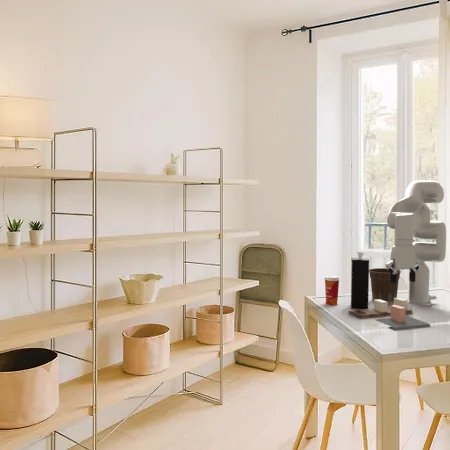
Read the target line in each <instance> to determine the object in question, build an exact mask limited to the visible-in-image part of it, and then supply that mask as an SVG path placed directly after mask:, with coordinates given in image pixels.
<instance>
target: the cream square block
mask: <svg viewBox="0 0 450 450" xmlns="http://www.w3.org/2000/svg"><path fill="white" fill-rule="evenodd" d="M408 304H409V303H408V299H405V298H402V297H397V298H394V301H393V305H398V306H401V307H404V308H405V310H407V309H408Z"/></svg>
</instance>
